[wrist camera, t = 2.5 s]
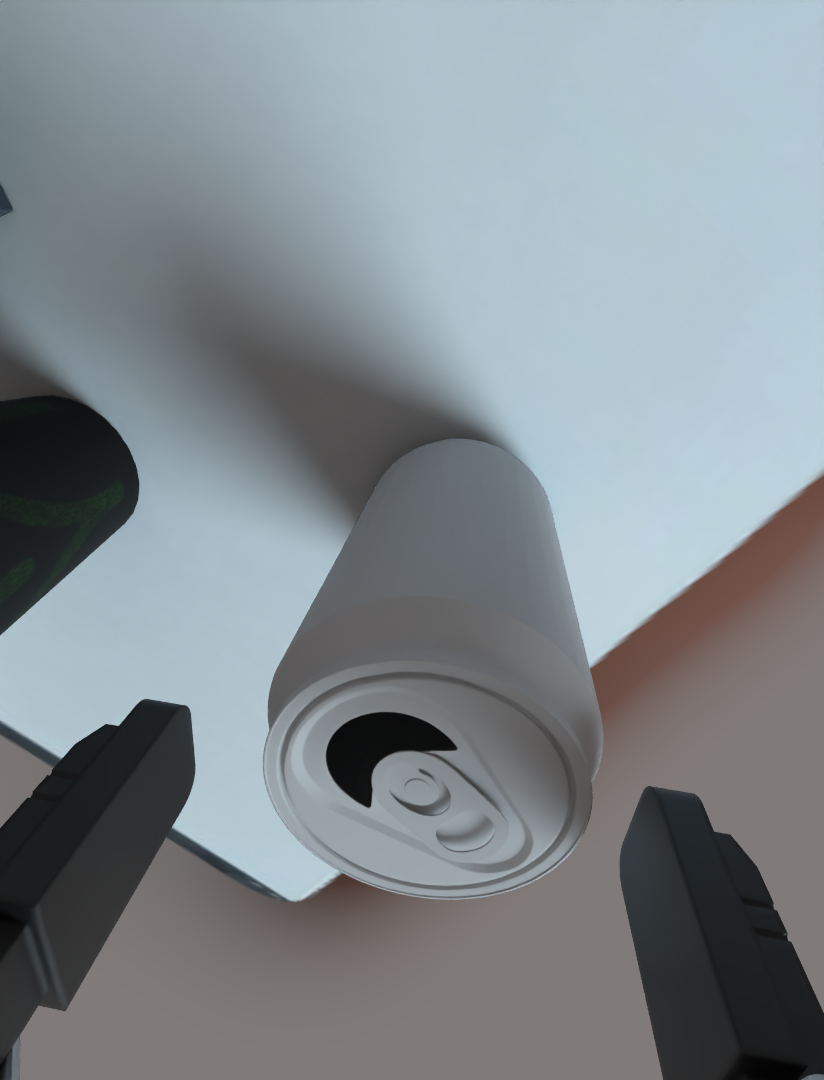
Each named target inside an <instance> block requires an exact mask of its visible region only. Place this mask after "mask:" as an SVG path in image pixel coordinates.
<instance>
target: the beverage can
mask: <svg viewBox="0 0 824 1080" xmlns="http://www.w3.org/2000/svg"><path fill="white" fill-rule="evenodd" d="M268 723H269V729H270V730H269V733H268V736H267V740H266V743H265V748H264V756H263V773H264V779H265V784H266V788H267V791H268V794H269V796H270V799H271V801H272V804H273V806H274V808H275V810H276V812H277V813H278V815H279V817H280V818H281V820H282V821H283V823H284V824H285V825H286V827H287V828H288V829H289V831H290V832H291V833H292V834H293V835H294V836H295V837H296V838H297V839H298V840H299V841H300V842H301V843H302V845H304V846H305V847H306V848H307V849H308V850H310V851H311V852H312V853H313V854H314V855H316V856H317V857H318V858H319V859H321V860H322V861H324V862H325V863H327V864H329V865H330V866H332V867H333V868H335V869H337V870H339V871H340V872H342V873H344V874H346V875H348V876H350V877H352V878H354V879H357V880H359V881H361V882H363V883H366V884H369V885H371V886H374V887H377V888H381V889H383V890H387V891H390V892H395V893H398V894H403V895H408V896H414V897H421V898H430V899H470V898H479V897H487V896H492V895H496V894H500V893H504V892H508V891H511V890H514V889H517V888H519V887H522V886H524V885H527V884H529V883H531V882H533V881H535V880H537V879H539V878H541V877H542V876H544V875H545V874H547V873H549V872H550V871H552V870H553V869H554V868H555V867H557V866H558V865H559V864H560V863H561V862H562V861H563V860H565V859H566V858H567V857H568V856H569V854H570V853H571V852H572V851H573V849H574V848H575V847H576V845H577V844H578V842H579V841H580V839H581V838H582V836H583V834H584V832H585V829H586V827H587V824H588V821H589V818H590V814H591V809H592V798H593V797H592V782H593V780H594V778H595V776H596V773H597V771H598V768H599V765H600V760H601V755H602V749H603V727H602V720H601V715H600V710H599V706H598V702H597V698H596V694H595V690H594V685H593V681H592V677H591V673H590V669H589V664H588V660H587V656H586V652H585V648H584V644H583V640H582V635H581V631H580V627H579V623H578V619H577V615H576V610H575V606H574V602H573V598H572V594H571V590H570V585H569V581H568V577H567V573H566V569H565V565H564V560H563V556H562V552H561V548H560V544H559V540H558V536H557V531H556V527H555V523H554V519H553V515H552V511H551V507H550V503H549V500H548V497H547V495H546V493H545V491H544V488H543V487H542V485H541V483H540V482H539V480H538V479H537V477H536V476H535V475H534V473H533V472H532V471H531V470H530V469H529V468H528V467H527V466H526V465H525V464H524V463H523V462H522V461H520V460H519V459H518V458H517V457H515V456H514V455H512V454H510V453H509V452H507V451H505V450H503V449H502V448H499V447H497V446H494V445H492V444H489V443H486V442H482V441H476V440H470V439H446V440H441V441H437V442H433V443H429V444H426V445H423V446H420V447H418V448H416V449H414V450H412V451H410V452H408V453H407V454H405V455H404V456H402V457H401V458H399V459H398V460H397V461H396V462H395V463H394V464H392V465H391V466H390V467H389V469H388V470H387V471H386V472H385V473H384V475H383V476H382V477H381V479H380V480H379V482H378V484H377V485H376V487H375V489H374V491H373V493H372V495H371V497H370V498H369V500H368V502H367V504H366V506H365V508H364V509H363V511H362V513H361V515H360V517H359V519H358V520H357V522H356V524H355V526H354V528H353V530H352V532H351V533H350V535H349V537H348V539H347V541H346V543H345V544H344V546H343V548H342V550H341V552H340V554H339V555H338V557H337V559H336V561H335V563H334V565H333V567H332V568H331V570H330V572H329V574H328V576H327V578H326V579H325V581H324V583H323V585H322V587H321V589H320V590H319V592H318V594H317V596H316V598H315V600H314V602H313V603H312V605H311V607H310V609H309V611H308V613H307V614H306V616H305V618H304V620H303V622H302V624H301V625H300V627H299V629H298V631H297V633H296V635H295V637H294V638H293V640H292V642H291V644H290V646H289V648H288V649H287V651H286V653H285V655H284V657H283V659H282V660H281V662H280V664H279V666H278V668H277V670H276V672H275V674H274V677H273V680H272V684H271V688H270V692H269V699H268Z"/></svg>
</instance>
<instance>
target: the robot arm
mask: <svg viewBox="0 0 824 1080" xmlns="http://www.w3.org/2000/svg"><path fill="white" fill-rule="evenodd" d="M194 776H195V757H194V745H193V734H192V723H191V713H190V709H189V708H188V707H187V706H185V705H179V704H173V703H167V702H161V701H156V700H150V699H144V700H142V701H140V702H139V703H138V704H137V705H136V706H135V707H134V708H133V710H132V711H131V712H130V713H129V715H128V716H127V717H126V718H125V719H124V721H123V722H122V723H121V724H120V725H119V726H115V725H109V724H105V725H104V726H102V727H101V728H99V729H98V730H96V731H95V732H93V733H91V734H90V735H88V736H87V737H85V738H84V739H82V740H81V741H79V742H78V743H76V744H75V745H74V746H73V747H72V748H71V749H70V750H69V752H68V753H67V754H66V755H65V756H64V757H63V758H62V759H61V761H60V762H59V763H58V764H57V765H56V766H55V767H54V768H53V770H52V773H51V775H50V776H48V775H47V776H46V778H45V779H44V780H43V781H42V782H41V783H40V784H39V785H38V786H37V788H36V789H35V790H34V791H33V794H32V796H31V798H27V799H26V800H25V801H24V802H23V803H22V804H21V806H20V807H19V808H18V809H17V810H16V811H15V813H13V815H12V816H11V817H10V818H9V819H8V820H7V821H6V822H5V824H4V825H3V826H2V827H1V828H0V1080H20V1034H21V1032H22V1031H23V1029H24V1028H25V1026H26V1024H27V1023H28V1021H29V1020H30V1018H31V1016H32V1014H33V1013H34V1011H35V1010H36V1008H37V1007H38V1005H39V1006H43V1007H48V1008H53V1009H58V1010H62V1011H66V1009H67V1007H68V1006H69V1004H70V1002H71V1000H72V999H73V997H74V995H75V994H76V992H77V990H78V988H79V987H80V985H81V983H82V981H83V980H84V978H85V976H86V975H87V973H88V971H89V969H90V968H91V966H92V964H93V962H94V961H95V959H96V957H97V956H98V954H99V952H100V950H101V949H102V947H103V945H104V943H105V942H106V940H107V938H108V937H109V935H110V933H111V931H112V929H113V928H114V926H115V924H116V923H117V921H118V919H119V918H120V916H121V914H122V912H123V910H124V909H125V907H126V905H127V904H128V902H129V900H130V898H131V897H132V895H133V893H134V892H135V890H136V888H137V886H138V885H139V883H140V881H141V880H142V878H143V876H144V874H145V873H146V871H147V869H148V867H149V866H150V864H151V862H152V860H153V859H154V857H155V855H156V854H157V852H158V850H159V848H160V847H161V845H162V843H163V841H164V840H165V838H166V836H167V835H168V833H169V831H170V829H171V828H172V826H173V824H174V823H175V821H176V819H177V817H178V816H179V814H180V812H181V810H182V809H183V807H184V805H185V803H186V801H187V799H188V797H189V794H190V792H191V789H192V785H193V781H194ZM620 880H621V886H622V891H623V896H624V901H625V905H626V909H627V914H628V919H629V924H630V928H631V933H632V937H633V942H634V946H635V951H636V956H637V960H638V965H639V970H640V974H641V979H642V983H643V988H644V993H645V997H646V1002H647V1006H648V1011H649V1016H650V1020H651V1025H652V1029H653V1034H654V1039H655V1043H656V1048H657V1053H658V1057H659V1062H660V1066H661V1071H662V1075H663V1080H824V1013H823V1011H822V1008H821V1006H820V1004H819V1002H818V1000H817V997H816V995H815V993H814V991H813V989H812V986H811V984H810V982H809V980H808V978H807V975H806V973H805V971H804V969H803V967H802V964H801V962H800V960H799V958H798V956H797V954H796V951H795V949H794V947H793V945H792V943H791V942H789V941H788V939H787V931H786V929H785V927H784V925H783V923H782V921H781V918H780V916H779V914H778V912H777V910H774V908H773V904H774V903H773V901H772V898H771V896H770V894H769V892H768V890H767V887H766V885H765V883H764V881H763V879H762V876H761V874H760V872H759V870H758V868H757V866H756V865H755V864H754V863H753V861H752V860H751V859H750V858H749V857H748V855H747V854H746V853H745V852H744V851H743V849H742V848H741V847H740V846H739V845H738V843H737V842H736V841H735V840H734V839H733V837H732V836H731V835H729V834H723V833H718V832H714V831H713V828H712V826H711V823H710V821H709V818H708V816H707V814H706V811H705V808H704V806H703V804H702V802H701V800H700V799H699V797H698V796H697V795H695V794H692V793H686V792H680V791H674V790H668V789H663V788H657V787H651V786H648V787H646V788H645V789H644V791H643V793H642V795H641V798H640V800H639V803H638V805H637V808H636V811H635V813H634V816H633V818H632V821H631V823H630V826H629V829H628V831H627V834H626V836H625V839H624V842H623V844H622V848H621V854H620Z"/></svg>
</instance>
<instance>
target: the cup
mask: <svg viewBox="0 0 824 1080" xmlns="http://www.w3.org/2000/svg"><path fill="white" fill-rule="evenodd" d="M138 494H139V479H138V474H137V468H136V465H135V462H134V460H133V458H132V455H131V453H130V450H129V448H128V447H127V445H126V444H125V442H124V441H123V439H122V438H121V436H120V435H119V433H118V432H117V431H116V430H115V429H114V428H113V427H112V426H111V425H110V424H109V423H108V422H107V421H106V420H105V419H104V418H103V417H101V416H100V415H99V414H97V413H96V412H94V411H93V410H92V409H90V408H89V407H87V406H85V405H83V404H80V403H78V402H76V401H74V400H71V399H68V398H63V397H58V396H53V395H51V396H35V397H28V398H21V399H14V400H7V401H0V635H1V634H2V633H3V632H4V631H6V630H7V629H8V628H9V627H10V626H11V625H12V624H13V623H14V622H16V621H17V620H18V619H19V618H20V617H21V616H22V615H23V614H25V613H26V612H27V611H28V610H29V609H30V608H31V607H32V606H33V605H35V604H36V603H37V602H38V601H39V600H40V599H41V598H42V597H43V596H45V595H46V594H47V593H48V592H49V591H50V590H51V589H52V588H53V587H55V586H56V585H57V584H58V583H59V582H60V581H61V580H62V579H63V578H65V577H66V576H67V575H68V574H69V573H70V572H71V571H72V570H74V569H75V568H76V567H77V566H78V565H79V564H80V563H81V562H82V561H84V560H85V559H86V558H87V557H88V556H89V555H90V554H91V553H92V552H94V551H95V550H96V549H97V548H98V547H99V546H100V545H101V544H102V543H104V542H105V541H106V540H107V539H108V538H109V537H110V536H111V535H112V534H114V533H115V532H116V531H117V530H118V529H119V528H120V527H121V526H122V525H124V524H125V523H126V521H127V520H128V519H129V517H130V516H131V515H132V514H133V512H134V509H135V506H136V504H137V501H138Z"/></svg>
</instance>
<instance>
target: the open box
mask: <svg viewBox="0 0 824 1080" xmlns="http://www.w3.org/2000/svg"><path fill="white" fill-rule="evenodd" d="M12 210H13V209H12V206H11V205H10V203H9V201H8V199H7V197H6V195H5V193H4V191H3V189H2V187H1V185H0V216H2V215H5V214H7V213H9V212H11V211H12Z"/></svg>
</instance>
